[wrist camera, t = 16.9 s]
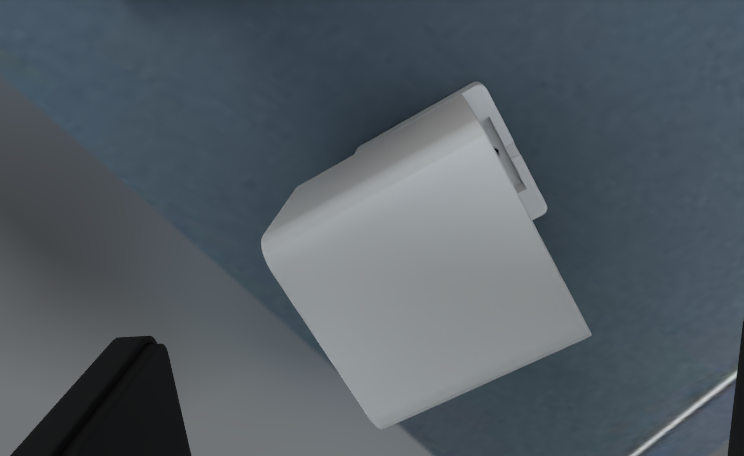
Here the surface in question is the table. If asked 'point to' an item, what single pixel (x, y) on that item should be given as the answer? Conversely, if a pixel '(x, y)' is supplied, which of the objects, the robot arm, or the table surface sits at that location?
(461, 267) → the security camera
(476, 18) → the table surface
